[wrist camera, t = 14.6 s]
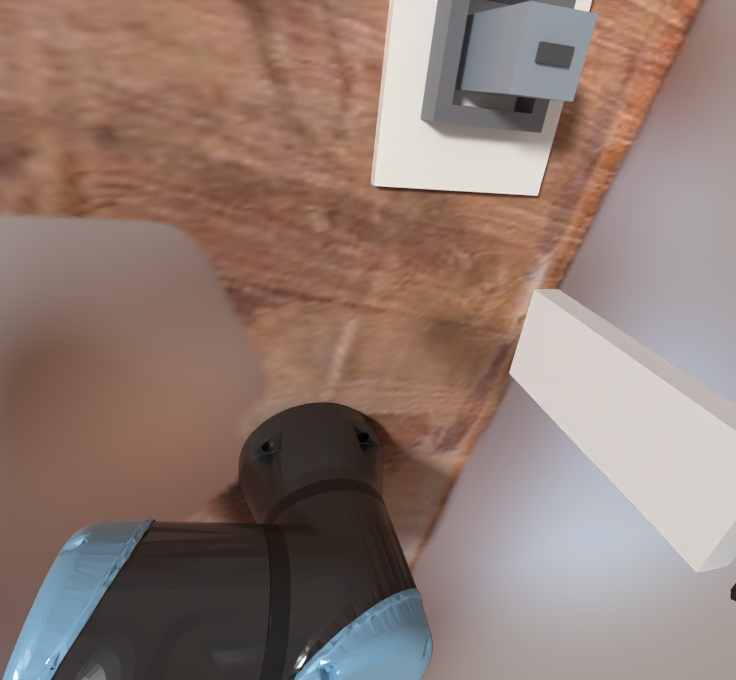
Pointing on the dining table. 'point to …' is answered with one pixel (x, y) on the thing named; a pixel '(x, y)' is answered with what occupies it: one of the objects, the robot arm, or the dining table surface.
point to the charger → (525, 51)
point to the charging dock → (454, 109)
